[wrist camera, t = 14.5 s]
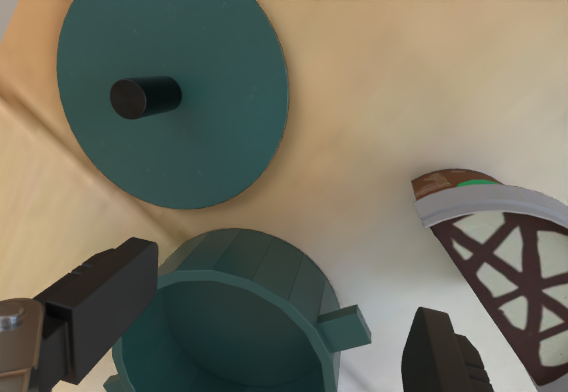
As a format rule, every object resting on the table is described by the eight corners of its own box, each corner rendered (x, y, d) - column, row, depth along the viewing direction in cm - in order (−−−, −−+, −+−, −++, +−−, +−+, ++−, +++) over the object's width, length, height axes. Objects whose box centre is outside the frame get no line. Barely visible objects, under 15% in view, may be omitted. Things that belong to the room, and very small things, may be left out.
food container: (576, 260, 26) (692, 368, 17) (489, 297, 28) (549, 411, 19) (485, 111, 24) (559, 141, 15) (399, 164, 26) (417, 218, 17)
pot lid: (25, 36, 29) (-55, 30, 23) (214, -105, 23) (169, -156, 18) (144, 234, 33) (99, 268, 27) (332, 152, 27) (323, 174, 22)
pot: (103, 274, 35) (45, 320, 29) (320, 185, 28) (307, 220, 22) (191, 410, 38) (157, 478, 32) (403, 361, 32) (413, 435, 25)
